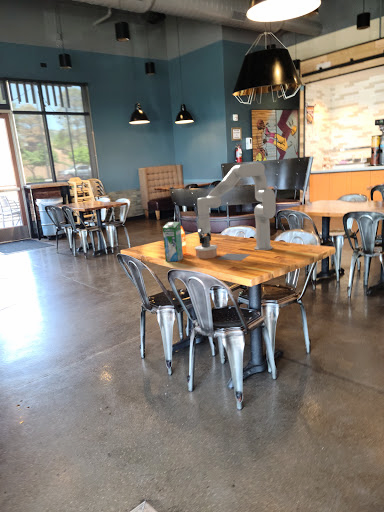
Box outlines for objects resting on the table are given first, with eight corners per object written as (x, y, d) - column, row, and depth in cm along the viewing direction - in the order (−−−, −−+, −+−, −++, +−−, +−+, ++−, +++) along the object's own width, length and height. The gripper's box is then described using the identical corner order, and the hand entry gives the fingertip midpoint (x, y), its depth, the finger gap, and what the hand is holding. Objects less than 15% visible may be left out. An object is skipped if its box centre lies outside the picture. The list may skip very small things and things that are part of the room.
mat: (227, 254, 262) (227, 253, 262) (250, 255, 254) (250, 254, 254) (216, 260, 248) (216, 259, 247) (241, 261, 239) (241, 260, 239)
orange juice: (175, 252, 280) (173, 225, 276) (186, 252, 276) (184, 225, 272) (170, 254, 273) (168, 227, 269) (181, 255, 269) (179, 227, 265)
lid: (201, 245, 267) (200, 234, 265) (220, 246, 260) (220, 234, 258) (190, 250, 254) (189, 238, 252) (211, 251, 247) (210, 238, 245)
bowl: (202, 254, 267) (201, 246, 265) (219, 255, 260) (218, 246, 259) (193, 258, 256) (192, 249, 255) (210, 259, 250) (210, 250, 248)
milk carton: (165, 261, 254) (162, 223, 249) (171, 258, 263) (168, 221, 257) (177, 261, 251) (174, 223, 246) (183, 258, 259) (180, 221, 254)
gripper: (204, 214, 261) (206, 239, 265) (192, 218, 247) (194, 244, 250) (214, 214, 258) (216, 239, 261) (202, 218, 243) (204, 244, 247)
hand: (205, 242), depth 256 cm, fingers open, 9 cm apart
